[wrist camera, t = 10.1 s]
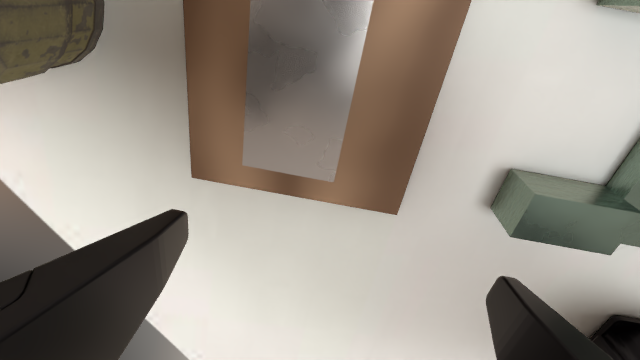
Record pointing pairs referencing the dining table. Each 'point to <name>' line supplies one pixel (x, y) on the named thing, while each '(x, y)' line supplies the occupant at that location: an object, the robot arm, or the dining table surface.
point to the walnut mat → (365, 111)
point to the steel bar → (301, 83)
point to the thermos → (46, 34)
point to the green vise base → (575, 201)
